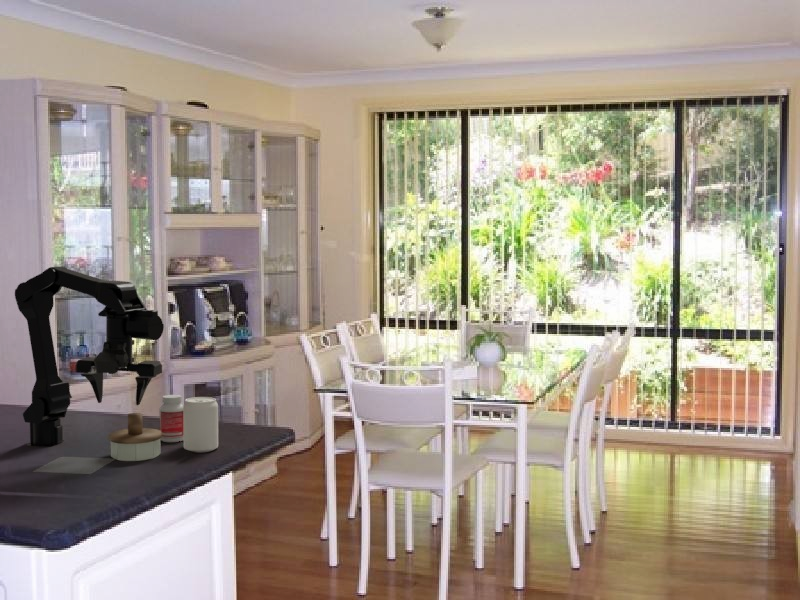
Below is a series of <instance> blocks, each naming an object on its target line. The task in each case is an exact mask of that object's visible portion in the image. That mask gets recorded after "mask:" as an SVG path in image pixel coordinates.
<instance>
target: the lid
mask: <svg viewBox="0 0 800 600" xmlns="http://www.w3.org/2000/svg"><path fill="white" fill-rule="evenodd" d="M143 425H144V424H143V413H141V412H130V413H127V428H123V429H119V430H118V429H117V430H115V431H112V432H110V433H109V434H108V440H109V442H110V443H111V442H114V443H121V444H138V443H147V442H152V441H156V440H159V439H160V438H161V437H162V432H161V431H160V429H156V428H147V427H143Z"/></svg>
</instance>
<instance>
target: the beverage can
mask: <svg viewBox="0 0 800 600" xmlns="http://www.w3.org/2000/svg"><path fill="white" fill-rule="evenodd" d="M218 447H219V404H218V402H217V399H216V398H215V397H211V396H195V397H188V398H186V399H185V400H184V403H183V449H184V450H187V451H191V453H208V452H212V451H215V450H216V449H217V448H218Z"/></svg>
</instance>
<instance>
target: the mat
mask: <svg viewBox="0 0 800 600" xmlns="http://www.w3.org/2000/svg"><path fill="white" fill-rule="evenodd" d="M115 460H116V459H114V458H107V457H106V458H103V457H82V456H80V457H79V456H60V457H58V458H56V459H54V460H52V461H50V462H48V463H46V464H44V465H41V466H40V467H38V468H36V469H35V470H33V471H31V472H32V473H49V474H53V473H54V474H70V475H72V474H73V475H92V474H94V473H95V472H97V471H98V470H101V469H102V468H104V467H106V466H107V465H109V464H110V463H112V462H113V461H114V462H115Z"/></svg>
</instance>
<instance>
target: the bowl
mask: <svg viewBox="0 0 800 600" xmlns="http://www.w3.org/2000/svg"><path fill="white" fill-rule="evenodd" d="M159 455H161V440H160V439H159V440H156V441H152V442H147V443H138V444H121V443H114V442H111V441H110V457H111V458H112V459H116V460H117V461H123V462H137V461H138V462H139V461H146V460H152V459H154V458H157V457H158V456H159Z"/></svg>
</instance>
